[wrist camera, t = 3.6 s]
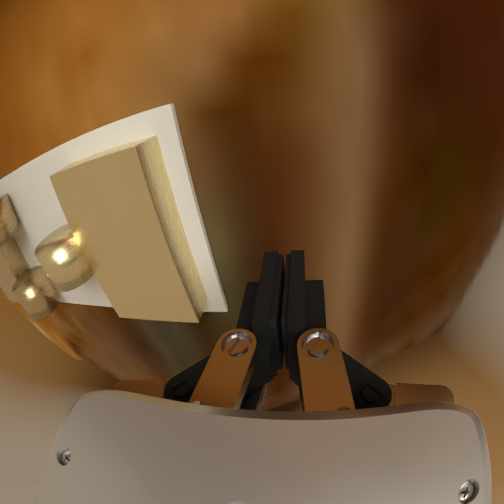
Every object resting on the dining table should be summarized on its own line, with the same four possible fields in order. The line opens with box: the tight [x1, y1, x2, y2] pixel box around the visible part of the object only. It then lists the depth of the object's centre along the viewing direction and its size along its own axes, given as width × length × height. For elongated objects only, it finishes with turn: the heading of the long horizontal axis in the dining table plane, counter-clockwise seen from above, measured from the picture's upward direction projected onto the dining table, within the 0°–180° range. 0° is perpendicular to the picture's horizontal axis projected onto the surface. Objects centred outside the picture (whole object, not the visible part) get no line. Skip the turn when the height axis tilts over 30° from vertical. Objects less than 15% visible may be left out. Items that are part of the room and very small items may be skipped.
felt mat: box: [0, 103, 228, 312], centre depth 20 cm, size 15×32×1 cm, turn 99°
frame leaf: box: [0, 193, 60, 321], centre depth 19 cm, size 12×11×4 cm
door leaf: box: [34, 135, 207, 323], centre depth 16 cm, size 12×11×4 cm
